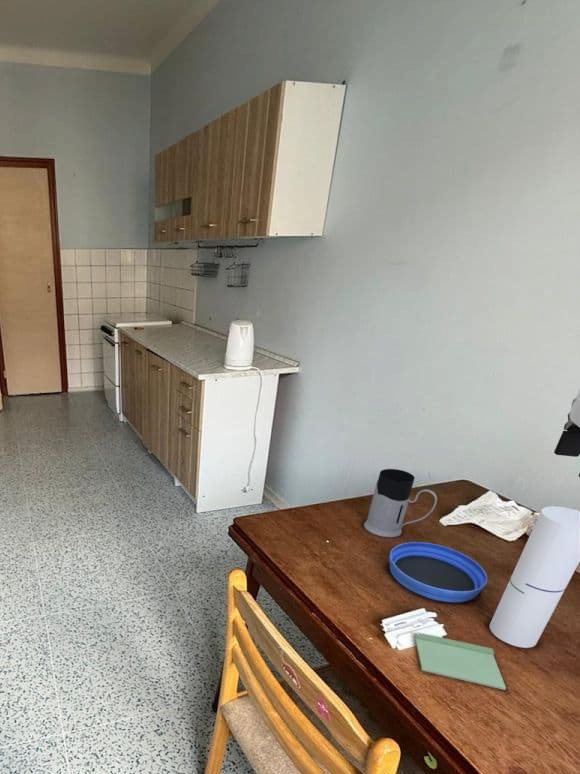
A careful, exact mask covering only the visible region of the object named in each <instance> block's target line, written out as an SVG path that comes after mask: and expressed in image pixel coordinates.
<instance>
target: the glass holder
mask: <svg viewBox="0 0 580 774" xmlns="http://www.w3.org/2000/svg"><path fill="white" fill-rule="evenodd" d="M414 482H415V476H414V475H413V474H412V473H410V472H408V471H406V470H402V469H396V468H385V469H381V470H380V472H379V475H378V479H377V481H376V484H375V488H374V492H373V495H372V499H371V503H370V506H369V511H368V515H367V519H366V520H365V522H364V523H363V526H364V527H363V528H364V529H365V530H367V532H369V533H370V534H372V535H376V536H378V537H382V538H383V537H384V538H396V537H399V536H401V535H402V533H403V531H402V528H403V526H405V525H410V524H414V523H417V522H419V521H422V520H424V519H426V518H427V517H429V516H430V515H431V514H432V512H433V511H434V510H435V508H436V506H437V502H438V497H437V494H436V493H435V492H434V491H433V490H430V489H421V490H420V491H418V492H417V493H416V495H415V498H414V500H411V496H410V495H411V492H412V488H413V485H414ZM424 492H427V493H430V494H431V495H432V496H433V498H434V503H433V505H432V508H431V509H430V510H429V512H427V513H426V514H425V515H424V516H422V517H419V518H417V519H414V520H411V521H406V522H404V519H405V516H406V512H407V509H408V506H409V503H410V504H411V503H412V504H414V503H416V502H417V500H418V499H419V497H420V494H421V493H424Z"/></svg>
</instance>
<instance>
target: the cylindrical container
mask: <svg viewBox="0 0 580 774" xmlns="http://www.w3.org/2000/svg"><path fill="white" fill-rule="evenodd" d="M579 564H580V510H577V509H574V508H569V507H564V506H556V505H555V506H553V505H552V506H551V505H550V506H545V507H542V508H541V510H540V512H539V514H538V516H537V519H536V521H535V523H534V526H533V528H532V530H531V532H530V535H529V537H528V538H527V541H526V543H525V545H524V547H523V549H522V552H521V554H520V556H519V559H518V561H517V562H516V565H515V567H514V570H513V572H512V574H511V576H510V578H509V580H508V583H507V585H506V588H505V590H504V592H503V593H502V596H501V599H500V601H499V603H498V605H497V607H496V610H495V612H494V614H493V616H492V619H491V621H490V623H489V626H488V627H489V630H490V632H491V633H492V634H493V635H494V636H495V637H496V638H498V639H499V640H501V641H502V642H504V643H506V644H508V645H511V646H513V647H518V648H523V649H528V648H533V647H535V646H536V645H537V643H538V641H539V640H540V638H541V636H542V634H543V632H544V631H545V628H546V627H547V624H548V622H549V621H550V619H551V617H552V615H553V613H554V612H555V609H556V608H557V605H558V604H559V602H560V600H561V598H562V596H563V595H564V592H565V591H566V589H567V586H568V585H569V583H570V581H571V579H572V577H573V575H574V573H575V572H576V570H577V567H578V566H579Z"/></svg>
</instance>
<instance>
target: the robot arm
mask: <svg viewBox="0 0 580 774" xmlns="http://www.w3.org/2000/svg"><path fill="white" fill-rule="evenodd" d="M559 437H560V438H559V440H558V442H557V444H556V447H555V448H554V451H553V453H554V454H555V455H556V456H562V457H563V456H565V457H575V458H577V457H579V456H580V389H579V390H578V392H577V394H576V396H575V398H574V399H573V400H572V402H571V408H570V411H569V412H568V414H567V421H566V422H565V423H564V425H563V430H562V433H561V435H560V436H559ZM578 477H579V478H580V472H579V473H578Z"/></svg>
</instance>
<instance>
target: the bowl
mask: <svg viewBox="0 0 580 774" xmlns="http://www.w3.org/2000/svg"><path fill="white" fill-rule="evenodd" d="M388 562H389V570H390V573H391V575H392V576H393V578H394V579H395V580H396V581H397V582H398V583H399V584H400V585H402V586H403V587H404V588H406V589H407V590H409V591H411V592H413V593H415V594H417V595H418V596H419V595H420V596H422V597H424V598H427V599H431V600H434V601H438V602H444V603H464V602H469V601H471V600H473V599H475V598H477V596H478V595H479V594H480V593H481V592H482V591H483V590H484V589H485V588H486V586H487V583H488V575H487V572H486V571H485V570H484V568H483V567H482V566H481V565H480V564H479V563H478V562H477V561H475V560H474V559H472V558H471V557H469V556H468V555H466V554H464V553H462V552H460V551H458V550H455V549H453V548H450V547H448V546H444V545H442V544H441V545H440V544H436V543H431V542H424V541H423V542H422V541H412V542H404V543H401V544H397V545H396V546H394V547H393V548H392V549H391V551H390V553H389V556H388Z"/></svg>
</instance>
